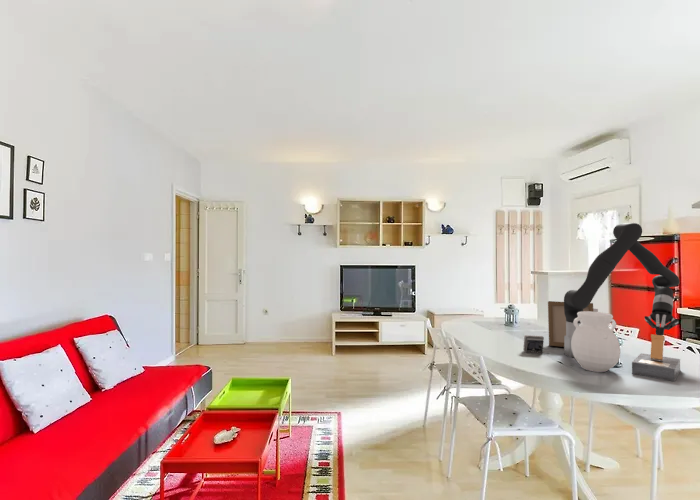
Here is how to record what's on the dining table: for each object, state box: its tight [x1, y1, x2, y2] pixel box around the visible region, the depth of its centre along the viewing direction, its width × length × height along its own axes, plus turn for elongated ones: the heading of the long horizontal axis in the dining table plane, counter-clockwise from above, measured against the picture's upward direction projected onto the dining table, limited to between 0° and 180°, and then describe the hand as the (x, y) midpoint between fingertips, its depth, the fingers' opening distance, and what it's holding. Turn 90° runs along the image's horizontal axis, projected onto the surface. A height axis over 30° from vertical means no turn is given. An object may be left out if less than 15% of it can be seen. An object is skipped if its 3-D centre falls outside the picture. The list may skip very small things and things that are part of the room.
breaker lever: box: [650, 333, 666, 361], centre depth 168 cm, size 5×3×11 cm, turn 44°
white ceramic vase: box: [571, 311, 621, 373], centre depth 170 cm, size 19×18×25 cm
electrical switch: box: [523, 334, 545, 355], centre depth 198 cm, size 9×5×9 cm, turn 78°
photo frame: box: [547, 300, 594, 348], centre depth 214 cm, size 15×22×25 cm
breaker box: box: [631, 352, 681, 382], centre depth 167 cm, size 14×22×5 cm, turn 134°
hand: (659, 335), depth 174 cm, fingers closed
